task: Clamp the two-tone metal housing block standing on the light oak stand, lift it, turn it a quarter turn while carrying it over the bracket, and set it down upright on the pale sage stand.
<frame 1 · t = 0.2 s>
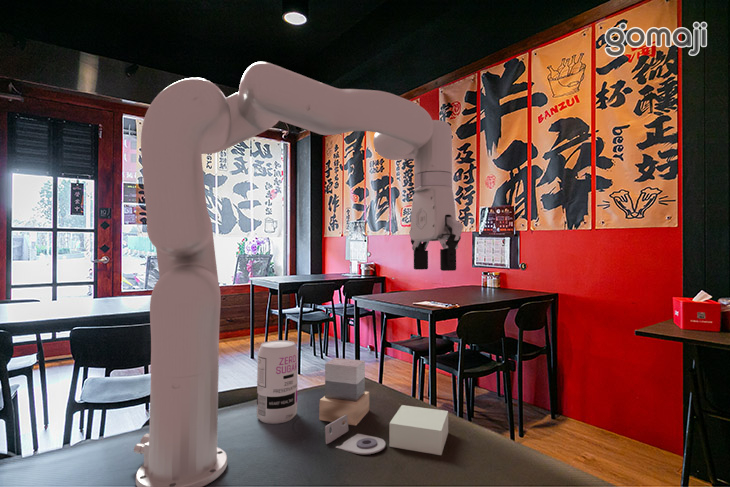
hand: (433, 269, 76), 31 cm above the table, tool pointing down, fingers open, 9 cm apart
housing: (345, 395, 81), point 4 cm above the table, touching stand a
bracket: (356, 445, 69), on the table
stand a: (345, 415, 81), on the table
stand b: (420, 439, 70), on the table
supplement can: (277, 417, 80), on the table
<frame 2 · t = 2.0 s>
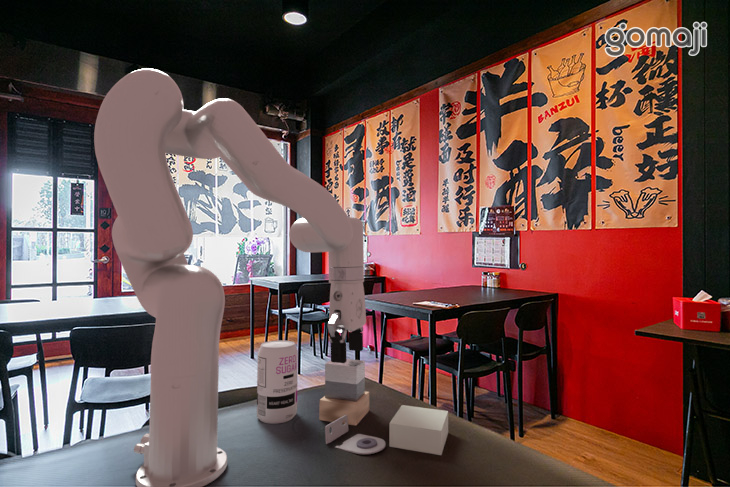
hand: (347, 355, 82), 12 cm above the table, tool pointing down, fingers open, 9 cm apart
nothing on the table moved.
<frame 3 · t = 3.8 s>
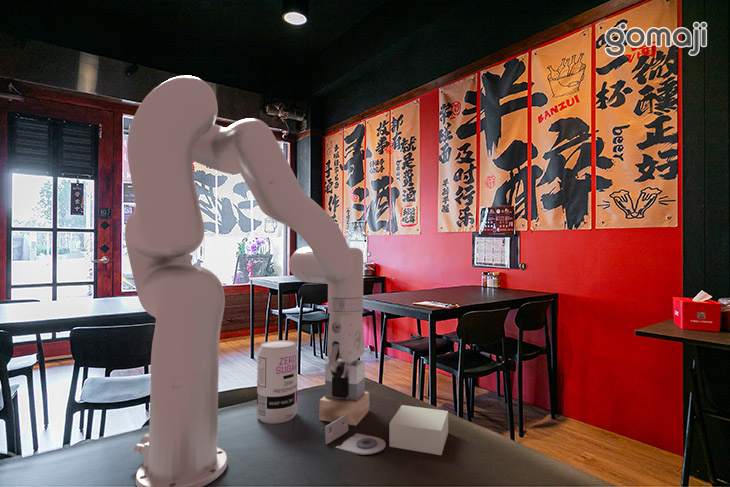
hand: (345, 391, 81), 5 cm above the table, tool pointing down, fingers closed on housing, 5 cm apart
housing: (345, 395, 81), point 4 cm above the table, touching gripper, stand a
everything else where it was.
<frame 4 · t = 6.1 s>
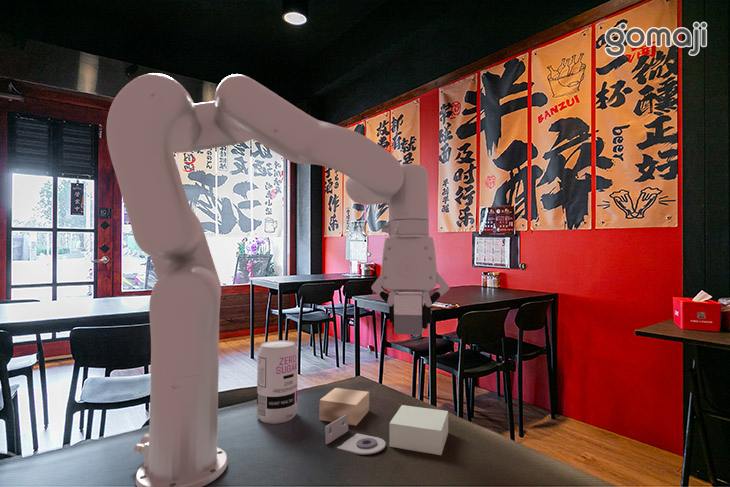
hand: (410, 326, 72), 20 cm above the table, tool pointing down, fingers closed on housing, 5 cm apart
housing: (410, 330, 72), point 19 cm above the table, touching gripper
everything else where it was.
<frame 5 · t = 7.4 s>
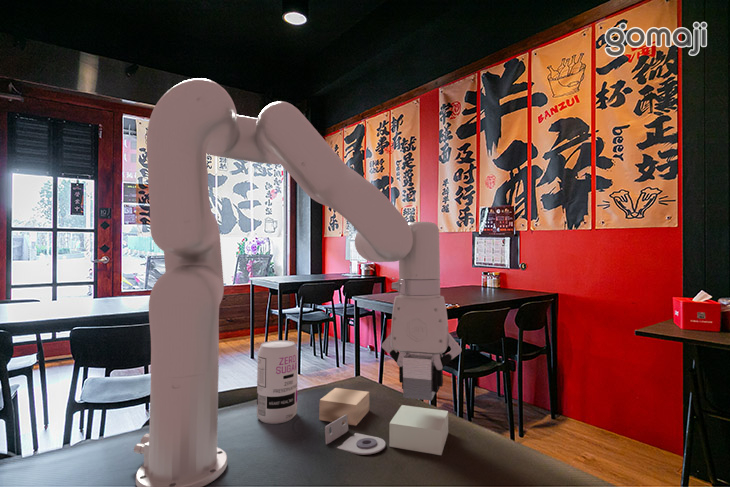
hand: (421, 387, 70), 9 cm above the table, tool pointing down, fingers closed on housing, 5 cm apart
housing: (421, 392, 70), point 8 cm above the table, touching gripper
everything else where it was.
when the fingers open (6 cm above the table, at t = 8.5 s): housing drops 1 cm, resting on stand b.
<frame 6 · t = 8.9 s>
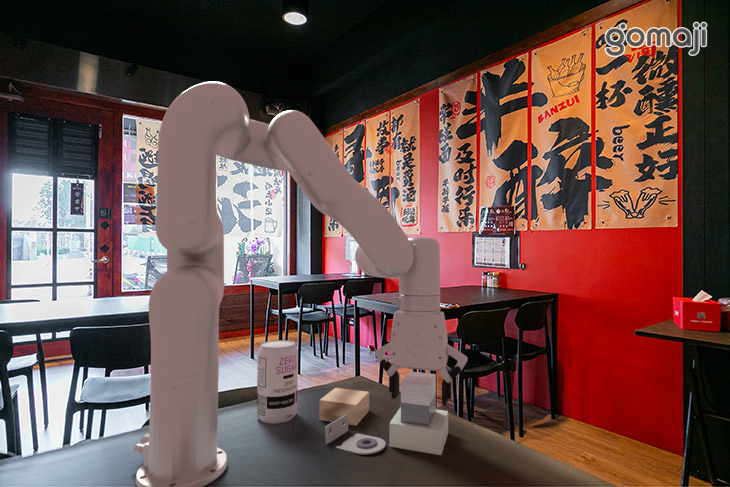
hand: (419, 399, 70), 7 cm above the table, tool pointing down, fingers open, 8 cm apart
housing: (418, 416, 70), point 4 cm above the table, touching stand b
everything else where it was.
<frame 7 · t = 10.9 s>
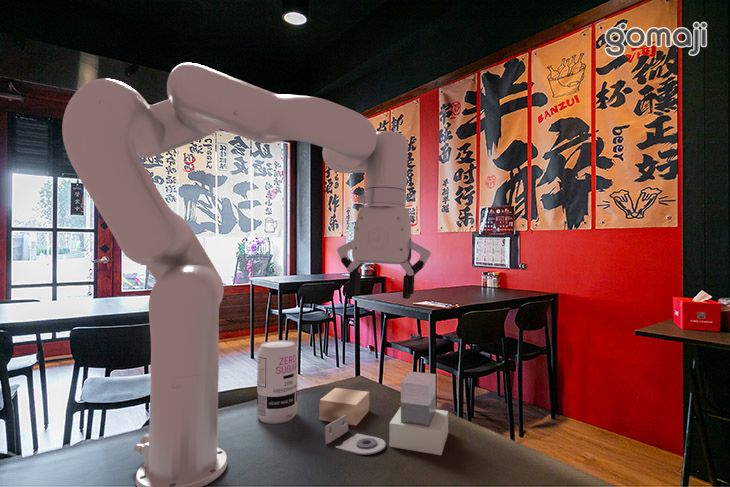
hand: (380, 296, 69), 26 cm above the table, tool pointing down, fingers open, 9 cm apart
nothing on the table moved.
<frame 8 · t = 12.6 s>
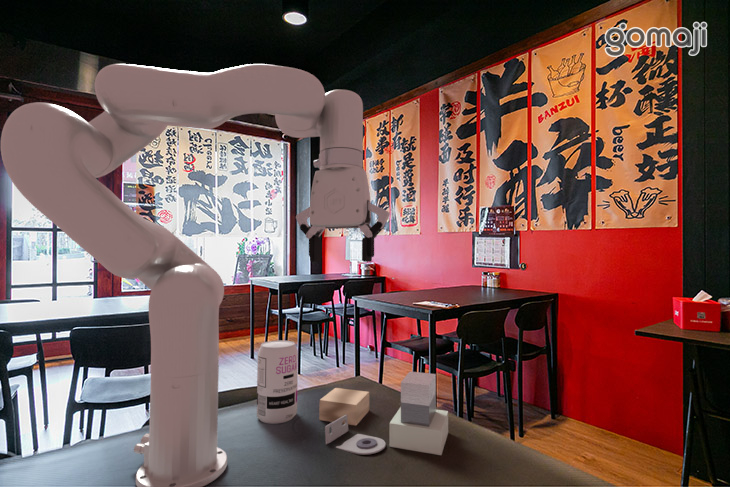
hand: (340, 261, 67), 32 cm above the table, tool pointing down, fingers open, 9 cm apart
nothing on the table moved.
at the end: housing inside the target area on the stand b (0.2 cm from its centre), point 4.0 cm above the stand b's base; housing tilted 0°; the gripper is holding nothing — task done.
